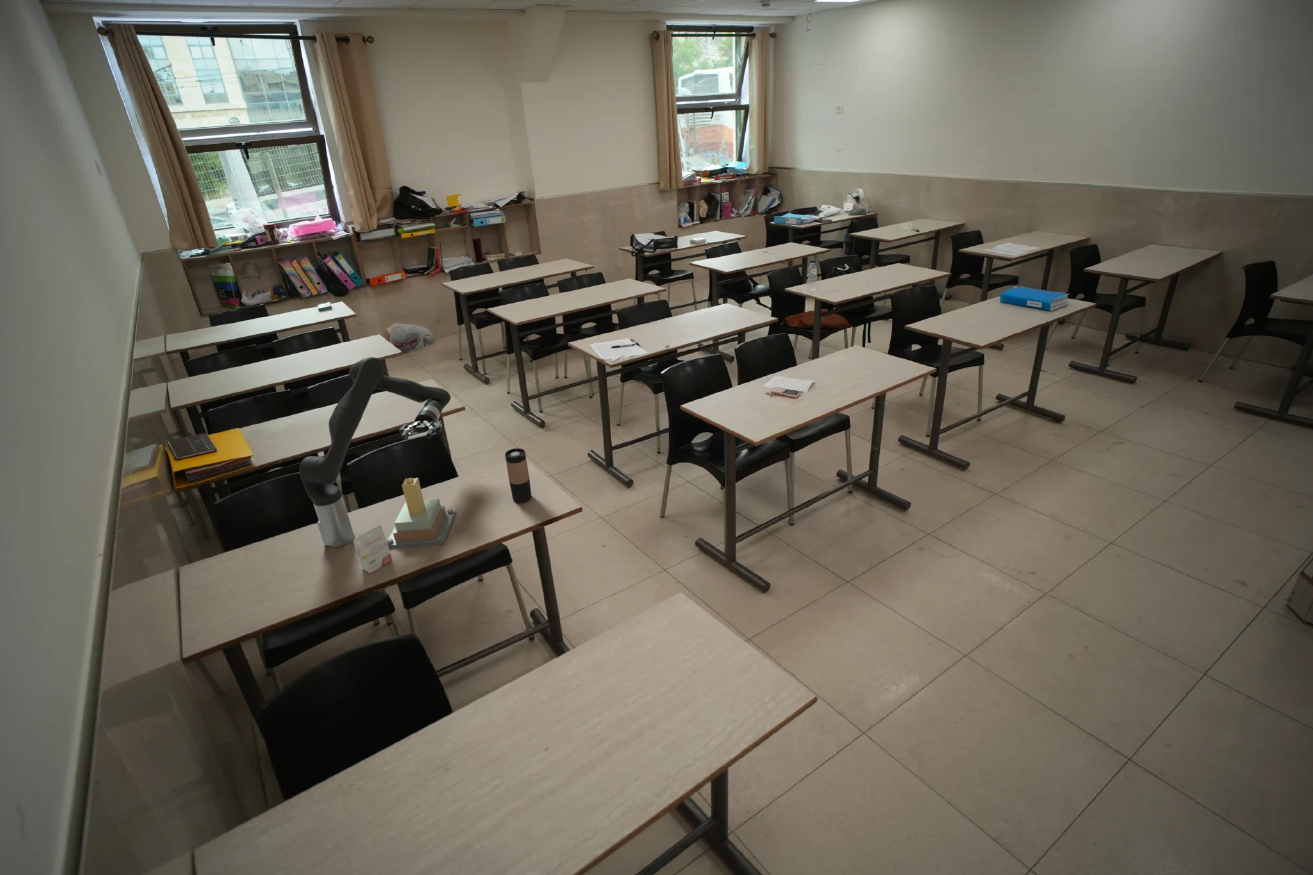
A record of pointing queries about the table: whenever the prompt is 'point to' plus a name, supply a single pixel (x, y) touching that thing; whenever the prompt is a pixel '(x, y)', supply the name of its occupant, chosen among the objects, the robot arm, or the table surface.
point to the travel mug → (518, 475)
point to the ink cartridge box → (372, 549)
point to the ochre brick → (413, 496)
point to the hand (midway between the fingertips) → (416, 437)
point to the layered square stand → (422, 526)
